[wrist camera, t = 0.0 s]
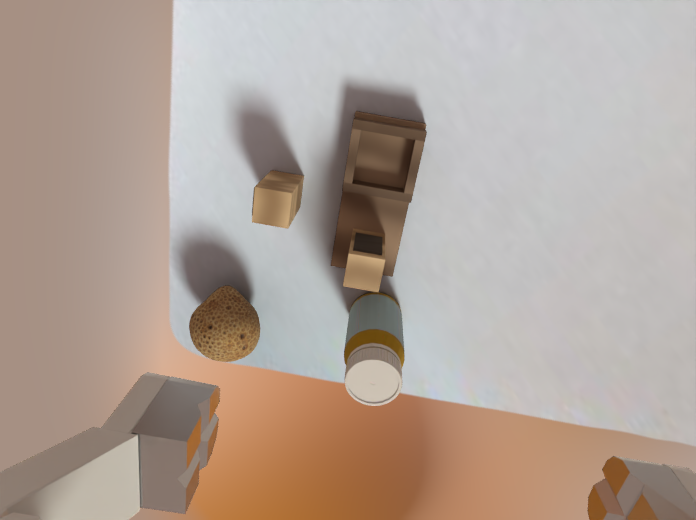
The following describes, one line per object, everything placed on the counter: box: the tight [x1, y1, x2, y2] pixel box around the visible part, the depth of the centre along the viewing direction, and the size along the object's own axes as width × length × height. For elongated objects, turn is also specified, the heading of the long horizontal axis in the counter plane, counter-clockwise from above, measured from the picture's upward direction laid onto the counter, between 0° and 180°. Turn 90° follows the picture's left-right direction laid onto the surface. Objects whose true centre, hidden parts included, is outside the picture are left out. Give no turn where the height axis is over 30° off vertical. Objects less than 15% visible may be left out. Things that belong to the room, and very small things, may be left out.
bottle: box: [344, 292, 404, 406], centre depth 57 cm, size 7×7×15 cm
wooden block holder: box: [331, 111, 427, 292], centre depth 53 cm, size 19×8×10 cm, turn 171°
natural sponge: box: [189, 286, 260, 362], centre depth 60 cm, size 9×9×10 cm
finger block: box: [252, 170, 304, 228], centre depth 54 cm, size 4×4×8 cm
